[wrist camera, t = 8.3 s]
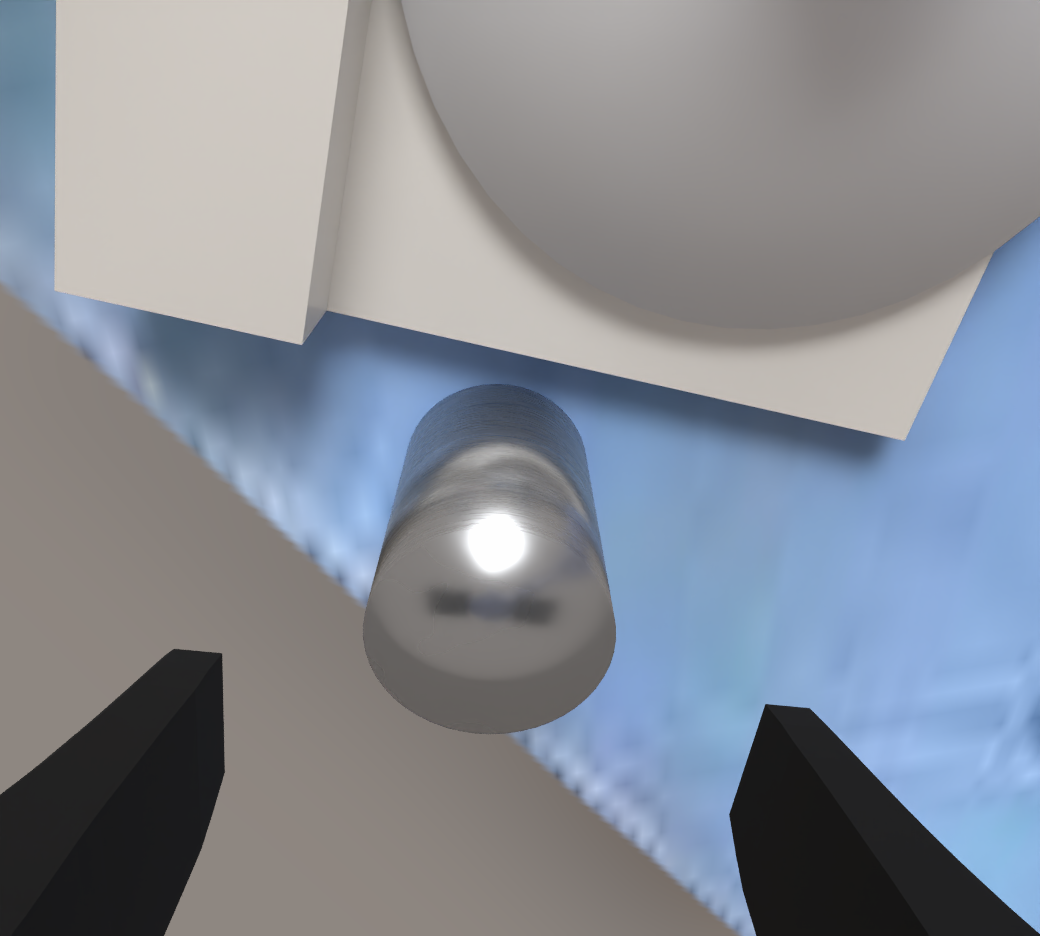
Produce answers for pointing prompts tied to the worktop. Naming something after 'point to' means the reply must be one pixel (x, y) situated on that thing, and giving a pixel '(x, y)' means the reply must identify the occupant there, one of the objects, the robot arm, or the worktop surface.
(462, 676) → the cylinder
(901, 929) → the robot arm
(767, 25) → the scale
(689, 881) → the worktop surface
